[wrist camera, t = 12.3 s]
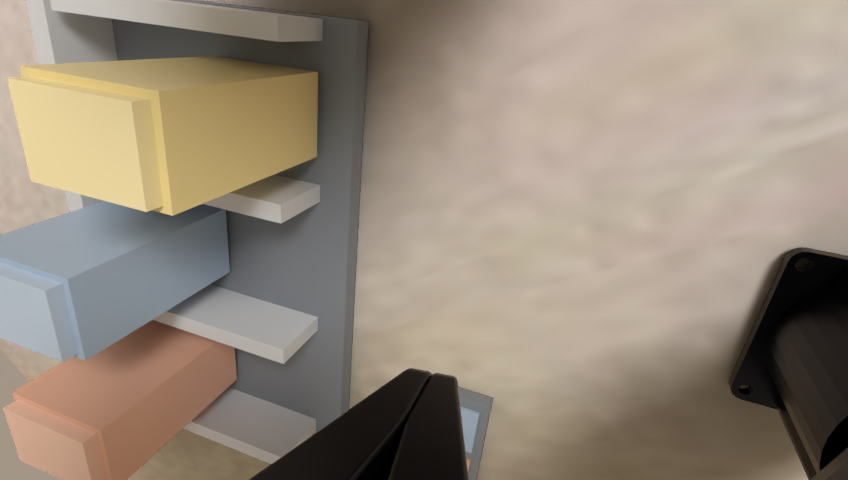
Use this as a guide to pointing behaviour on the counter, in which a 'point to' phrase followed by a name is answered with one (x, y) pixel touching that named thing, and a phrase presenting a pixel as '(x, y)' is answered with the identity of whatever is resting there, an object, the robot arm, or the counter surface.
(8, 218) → the counter surface
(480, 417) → the tile
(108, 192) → the yellow block
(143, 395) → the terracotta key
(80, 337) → the pale blue block
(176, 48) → the grey divided tray
